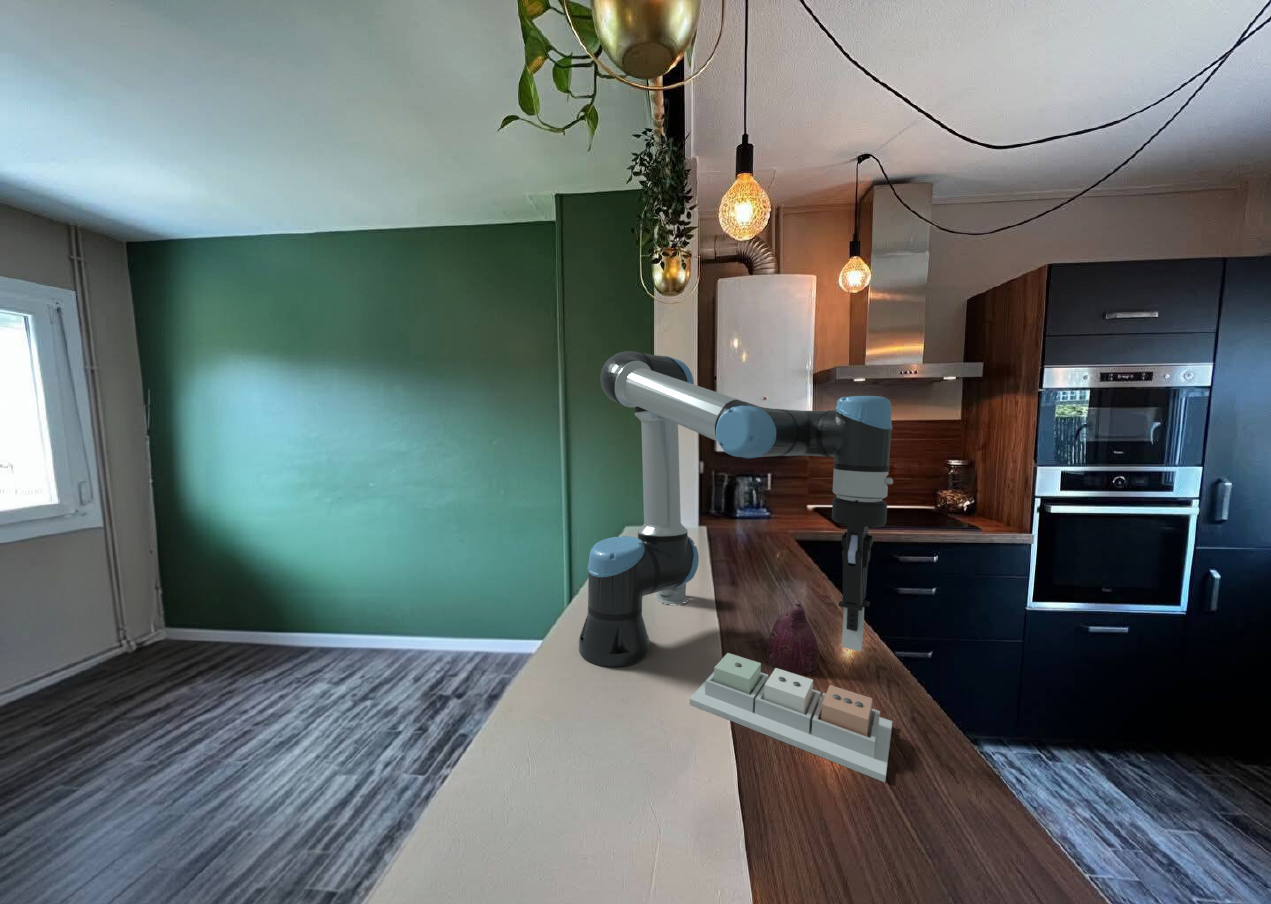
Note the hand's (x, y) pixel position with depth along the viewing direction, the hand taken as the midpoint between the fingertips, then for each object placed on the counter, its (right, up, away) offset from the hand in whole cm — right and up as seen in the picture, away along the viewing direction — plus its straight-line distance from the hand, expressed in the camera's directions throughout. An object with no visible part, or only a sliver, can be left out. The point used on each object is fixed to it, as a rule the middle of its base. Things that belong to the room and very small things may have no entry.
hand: (852, 647), depth 70 cm
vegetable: (-1, -14, +24) cm, 28 cm away
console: (-8, -14, +6) cm, 17 cm away
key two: (-8, -11, +6) cm, 15 cm away
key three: (0, -12, +1) cm, 12 cm away
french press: (-23, -11, +56) cm, 62 cm away
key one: (-15, -11, +11) cm, 22 cm away
